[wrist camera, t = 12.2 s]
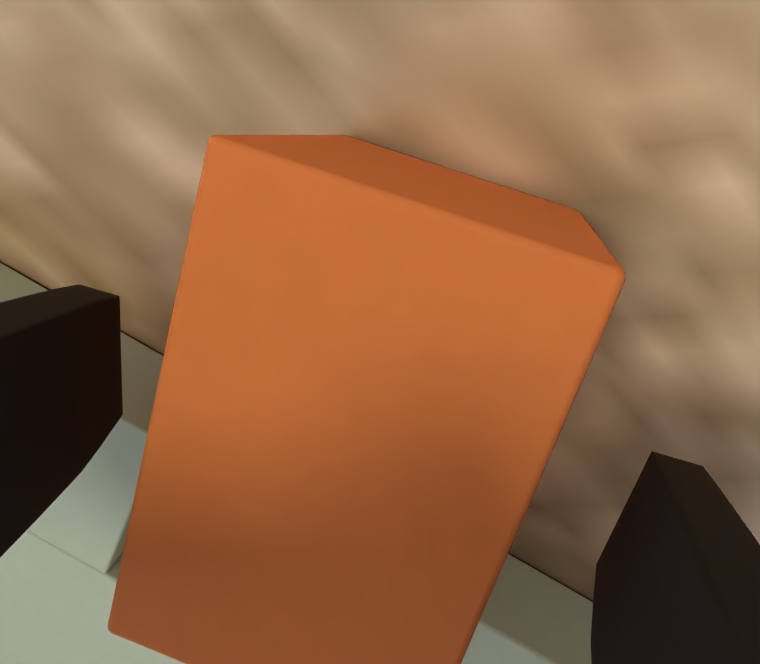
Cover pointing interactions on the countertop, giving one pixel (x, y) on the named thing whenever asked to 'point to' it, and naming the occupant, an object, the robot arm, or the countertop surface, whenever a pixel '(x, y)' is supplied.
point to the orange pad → (352, 404)
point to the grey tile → (107, 538)
